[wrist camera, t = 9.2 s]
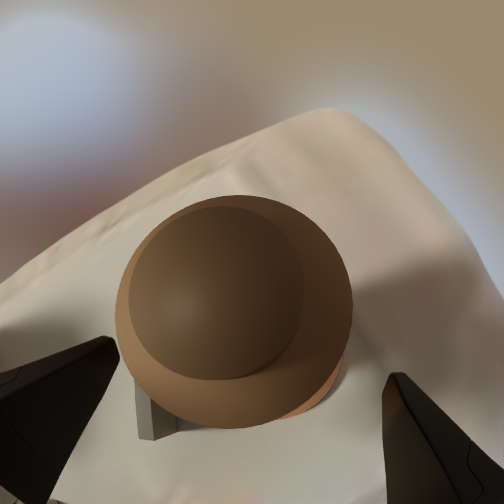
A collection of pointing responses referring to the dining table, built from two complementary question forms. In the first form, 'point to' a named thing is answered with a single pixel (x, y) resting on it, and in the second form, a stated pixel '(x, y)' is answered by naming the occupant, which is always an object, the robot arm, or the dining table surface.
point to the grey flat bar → (152, 417)
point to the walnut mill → (234, 311)
